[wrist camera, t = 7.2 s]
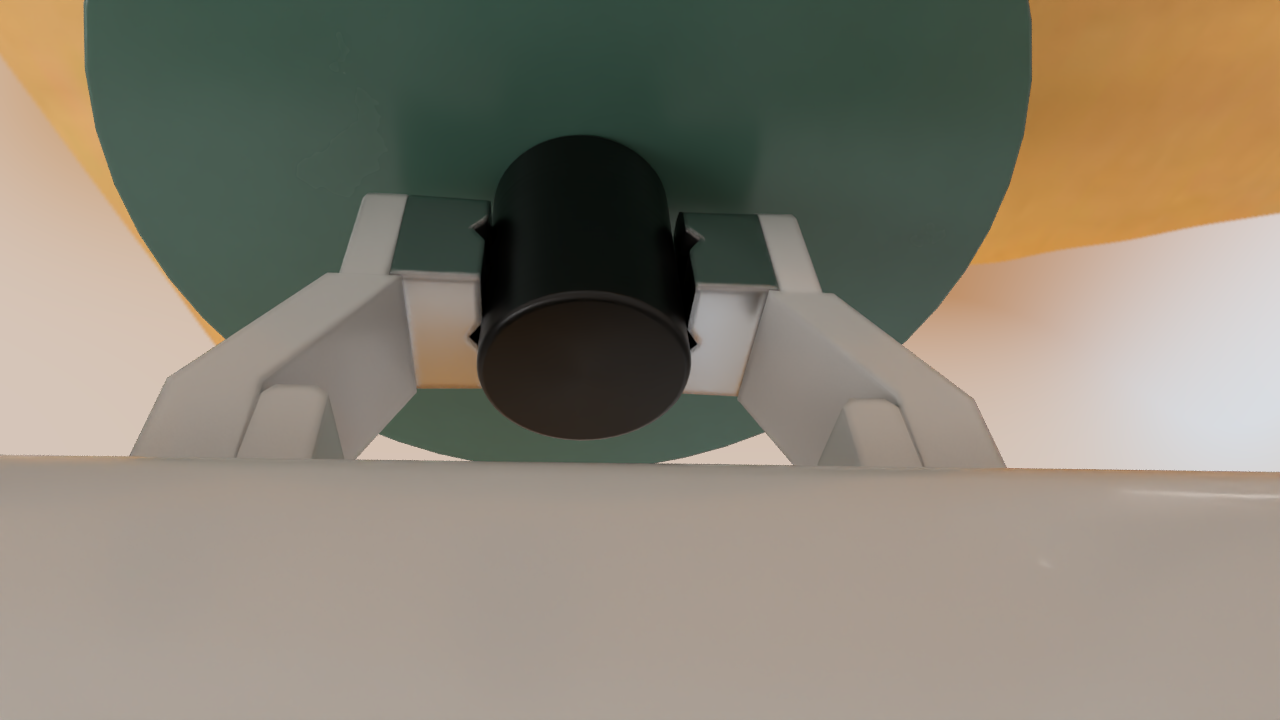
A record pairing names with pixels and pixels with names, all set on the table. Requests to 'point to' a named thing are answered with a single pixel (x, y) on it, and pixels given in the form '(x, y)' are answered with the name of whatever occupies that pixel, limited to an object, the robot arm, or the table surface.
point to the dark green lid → (564, 173)
